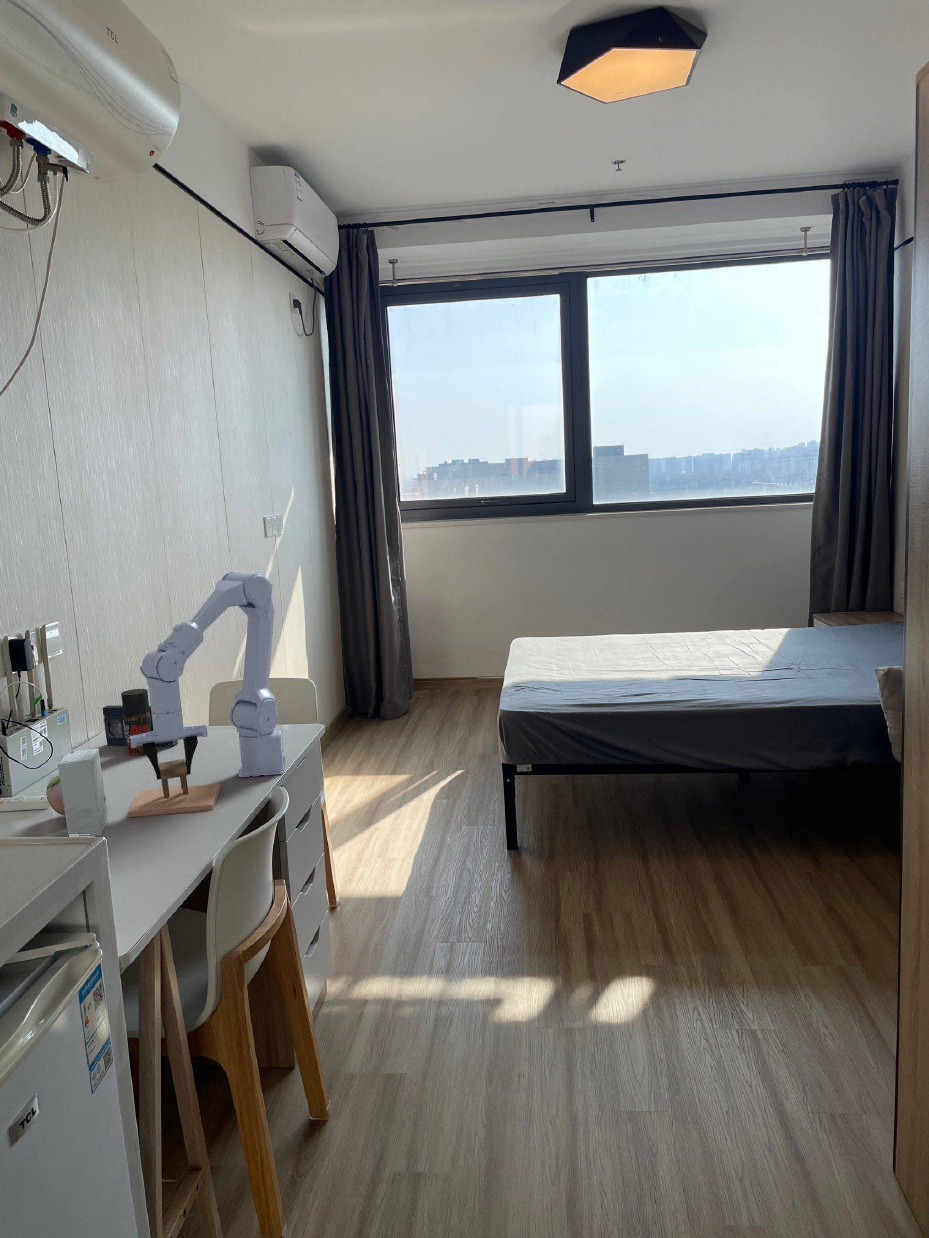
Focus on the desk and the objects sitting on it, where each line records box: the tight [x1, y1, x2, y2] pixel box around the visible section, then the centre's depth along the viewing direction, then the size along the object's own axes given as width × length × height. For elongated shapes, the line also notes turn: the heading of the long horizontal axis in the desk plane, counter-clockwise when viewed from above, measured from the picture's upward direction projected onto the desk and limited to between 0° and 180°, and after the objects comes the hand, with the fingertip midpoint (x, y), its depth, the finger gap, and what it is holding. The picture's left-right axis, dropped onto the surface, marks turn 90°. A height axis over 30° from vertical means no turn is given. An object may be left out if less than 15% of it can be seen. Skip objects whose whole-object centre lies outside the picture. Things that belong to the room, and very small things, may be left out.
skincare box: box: [57, 748, 110, 837], centre depth 162 cm, size 8×6×15 cm
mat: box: [127, 783, 222, 818], centre depth 176 cm, size 16×12×1 cm
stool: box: [158, 758, 189, 799], centre depth 176 cm, size 5×5×6 cm
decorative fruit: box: [45, 775, 66, 817], centre depth 170 cm, size 9×8×10 cm
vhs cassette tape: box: [102, 704, 179, 748], centre depth 215 cm, size 18×3×10 cm, turn 77°
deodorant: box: [120, 688, 152, 757], centre depth 209 cm, size 6×6×15 cm
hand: (173, 775), depth 175 cm, fingers open, 5 cm apart
